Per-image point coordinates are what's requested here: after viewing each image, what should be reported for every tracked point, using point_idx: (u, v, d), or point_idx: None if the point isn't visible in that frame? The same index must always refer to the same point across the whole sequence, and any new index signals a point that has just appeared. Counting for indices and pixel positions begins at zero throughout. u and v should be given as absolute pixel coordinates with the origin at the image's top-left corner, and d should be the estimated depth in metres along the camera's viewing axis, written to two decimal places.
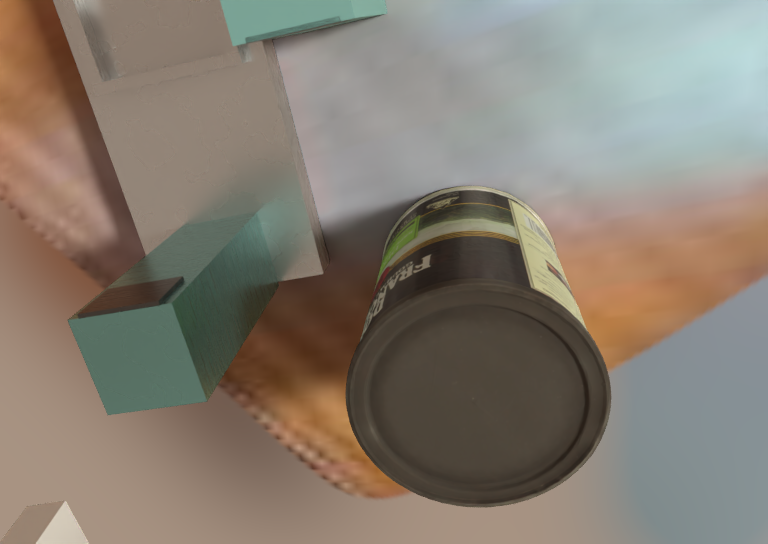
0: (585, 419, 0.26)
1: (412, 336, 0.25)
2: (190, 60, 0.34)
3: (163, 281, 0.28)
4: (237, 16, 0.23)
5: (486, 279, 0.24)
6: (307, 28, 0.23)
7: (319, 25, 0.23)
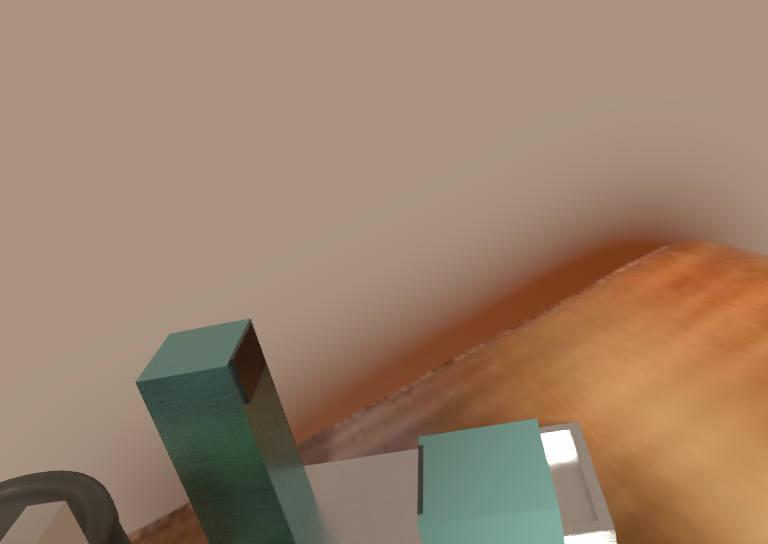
0: None
1: None
2: None
3: (252, 389, 0.32)
4: (442, 440, 0.25)
5: None
6: (418, 489, 0.23)
7: (418, 497, 0.22)
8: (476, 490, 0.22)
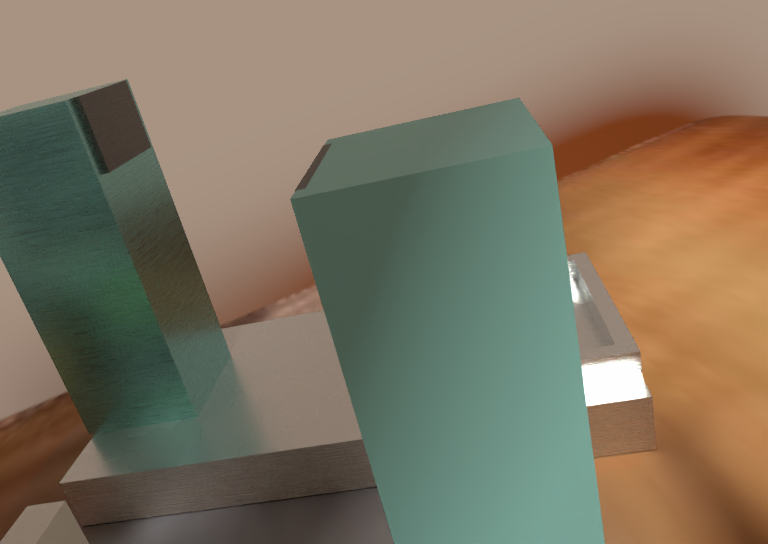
0: None
1: None
2: None
3: (116, 158, 0.22)
4: (363, 135, 0.15)
5: None
6: (308, 173, 0.13)
7: (304, 177, 0.13)
8: (404, 158, 0.12)
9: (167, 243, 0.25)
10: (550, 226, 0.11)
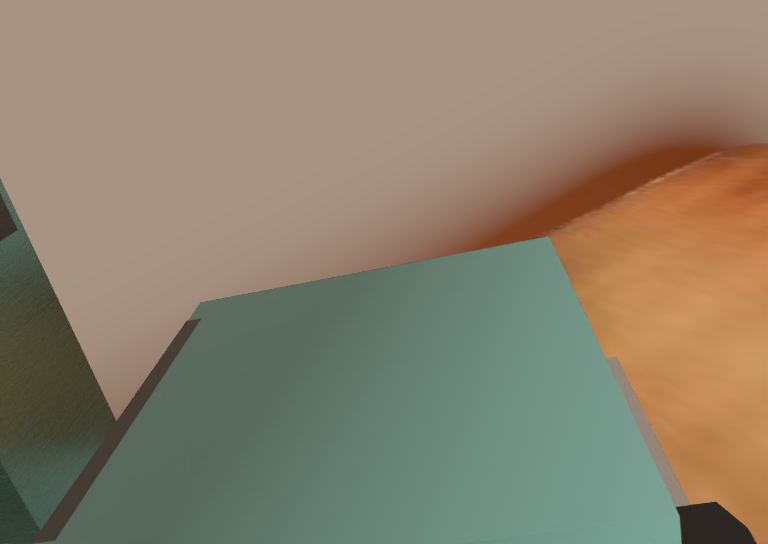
0: None
1: None
2: None
3: None
4: (258, 305, 0.08)
5: None
6: (108, 442, 0.06)
7: (84, 472, 0.06)
8: (303, 443, 0.05)
9: (42, 362, 0.18)
10: None
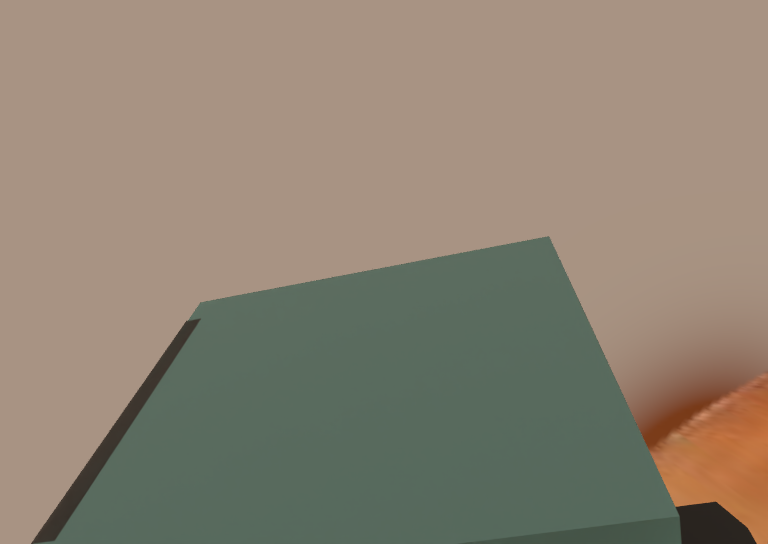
0: None
1: None
2: None
3: None
4: (258, 305, 0.08)
5: None
6: (108, 442, 0.06)
7: (84, 471, 0.06)
8: (303, 444, 0.05)
9: None
10: None
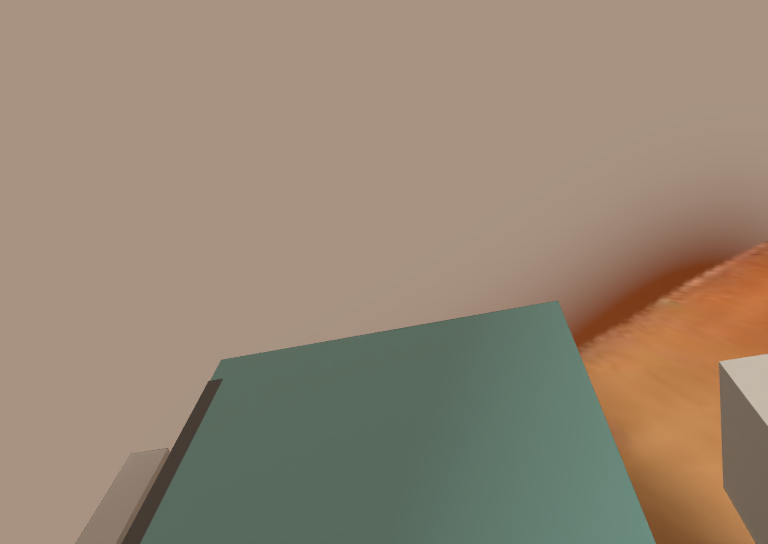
0: None
1: None
2: None
3: None
4: (278, 366, 0.08)
5: None
6: (142, 515, 0.06)
7: None
8: (329, 526, 0.06)
9: None
10: None
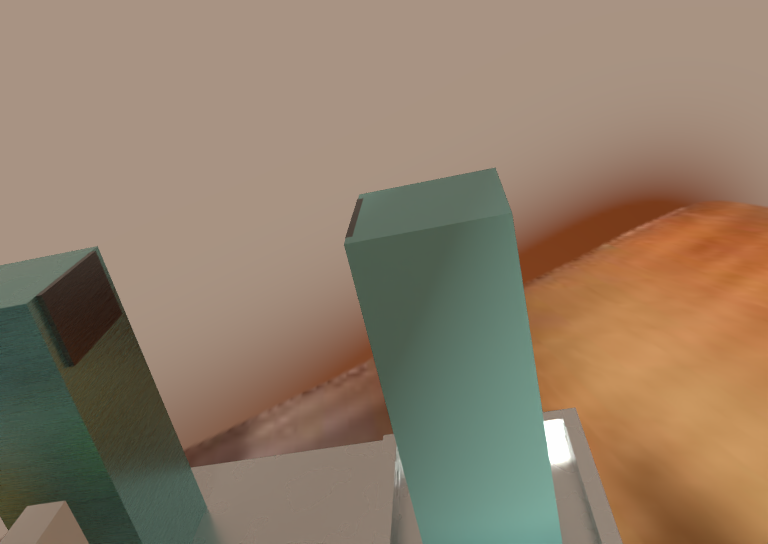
0: None
1: None
2: None
3: (82, 346, 0.21)
4: (385, 193, 0.21)
5: None
6: (351, 224, 0.19)
7: (349, 227, 0.19)
8: (417, 215, 0.18)
9: (138, 413, 0.24)
10: (511, 263, 0.18)
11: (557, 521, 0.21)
